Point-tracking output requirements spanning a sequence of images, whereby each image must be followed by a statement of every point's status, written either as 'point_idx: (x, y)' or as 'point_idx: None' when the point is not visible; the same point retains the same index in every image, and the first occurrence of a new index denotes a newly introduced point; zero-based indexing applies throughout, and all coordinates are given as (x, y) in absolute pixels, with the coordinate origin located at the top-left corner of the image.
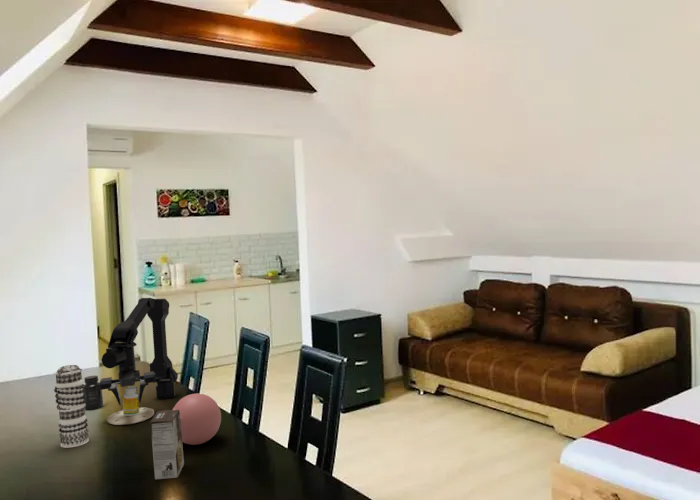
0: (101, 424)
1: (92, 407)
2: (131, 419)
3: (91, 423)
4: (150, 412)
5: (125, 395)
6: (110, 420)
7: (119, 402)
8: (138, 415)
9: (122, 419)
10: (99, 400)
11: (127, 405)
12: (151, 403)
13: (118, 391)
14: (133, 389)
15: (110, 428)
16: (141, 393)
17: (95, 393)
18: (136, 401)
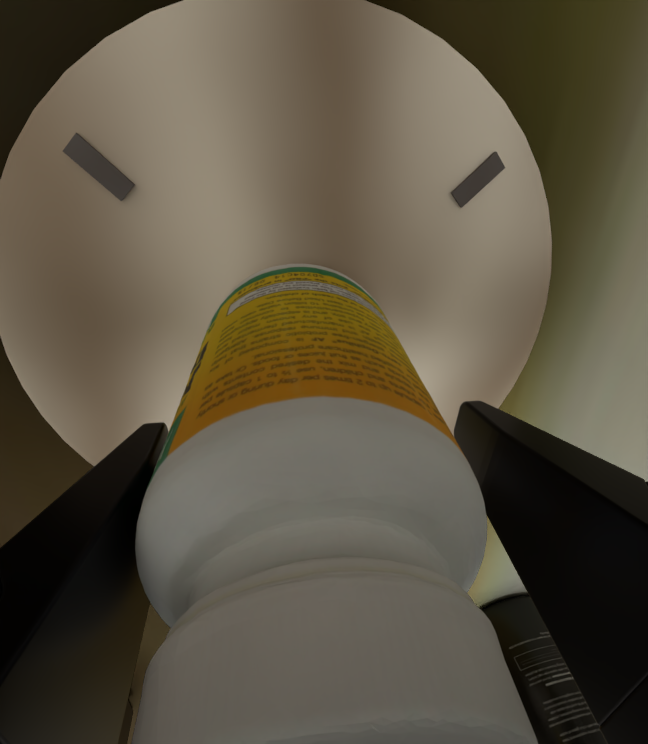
0: (577, 272)
1: (530, 607)
2: (292, 113)
3: (625, 347)
4: (49, 320)
5: (466, 508)
6: (531, 243)
7: (507, 422)
8: (204, 265)
9: (406, 201)
10: (505, 660)
11: (371, 333)
12: (150, 612)
13: (604, 676)
14: (238, 713)
15: (555, 31)
16: (15, 560)
17: (564, 720)
18: (199, 382)
